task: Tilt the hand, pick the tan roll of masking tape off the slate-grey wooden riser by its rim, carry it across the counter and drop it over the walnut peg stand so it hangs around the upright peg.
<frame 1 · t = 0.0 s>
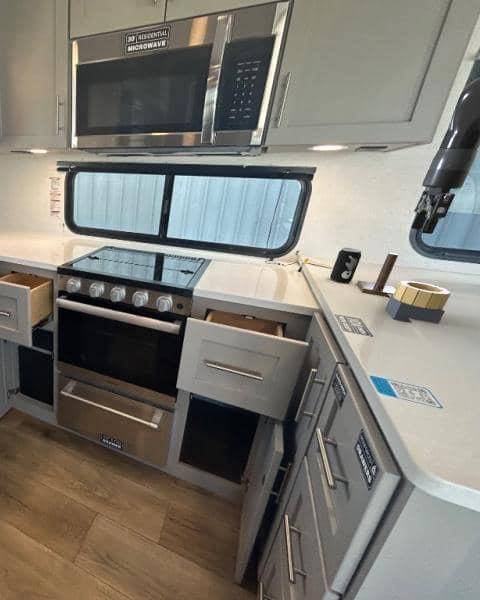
hand: (420, 231, 91), 23 cm above the countertop, tool pointing down, fingers open, 8 cm apart
black printed box: (339, 281, 123), on the countertop
riser: (409, 317, 94), on the countertop
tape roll: (417, 301, 92), point 5 cm above the countertop, touching riser
stand: (377, 291, 114), on the countertop
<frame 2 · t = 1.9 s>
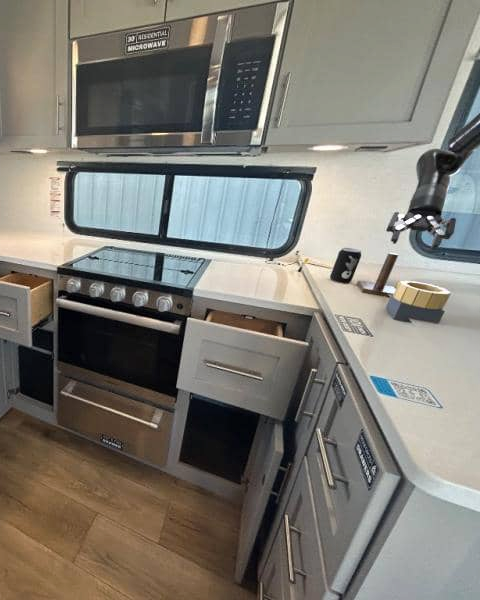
hand: (414, 244, 98), 19 cm above the countertop, tool tilted 45°, fingers open, 8 cm apart
nothing on the countertop moved.
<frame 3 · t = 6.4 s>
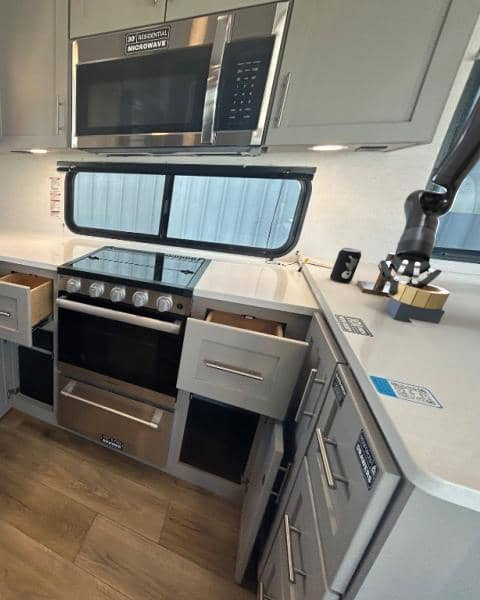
hand: (400, 295, 93), 6 cm above the countertop, tool tilted 45°, fingers closed on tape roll, 2 cm apart
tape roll: (416, 301, 92), point 5 cm above the countertop, touching gripper, riser
everything else where it was.
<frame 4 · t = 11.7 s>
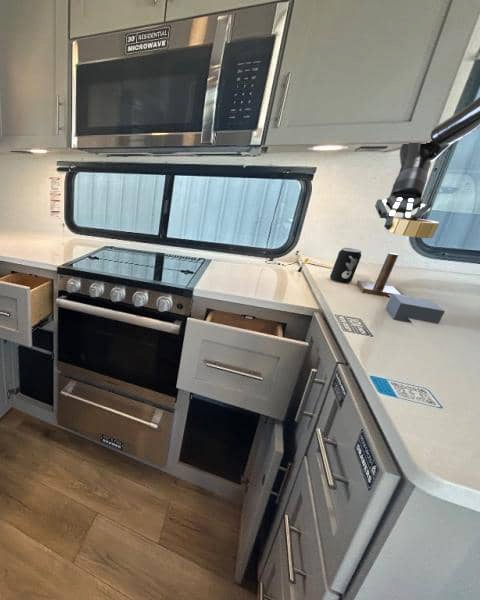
hand: (394, 228, 102), 22 cm above the countertop, tool tilted 45°, fingers closed on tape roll, 2 cm apart
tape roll: (409, 234, 101), point 21 cm above the countertop, touching gripper, hand
everything else where it was.
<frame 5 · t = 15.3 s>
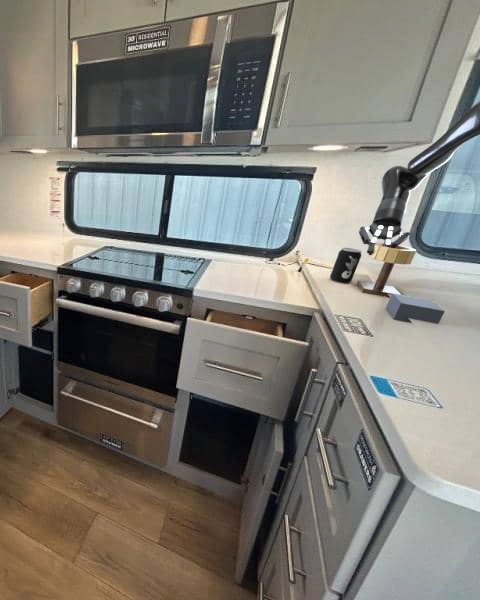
hand: (376, 254, 110), 13 cm above the countertop, tool tilted 45°, fingers closed on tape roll, 2 cm apart
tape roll: (389, 259, 109), point 11 cm above the countertop, touching gripper, hand
everything else where it was.
when the fingers open (13 cm above the countertop, at t = 17.0 s): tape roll drops 10 cm, resting on stand.
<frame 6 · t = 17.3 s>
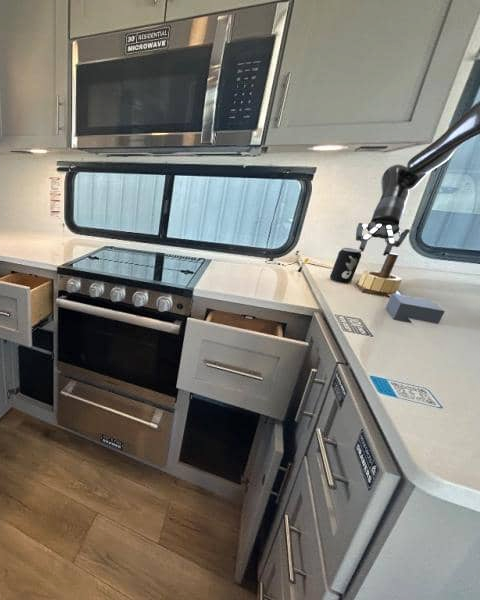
hand: (373, 252, 110), 13 cm above the countertop, tool tilted 45°, fingers open, 5 cm apart
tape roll: (376, 287, 114), point 1 cm above the countertop, touching stand
everything else where it was.
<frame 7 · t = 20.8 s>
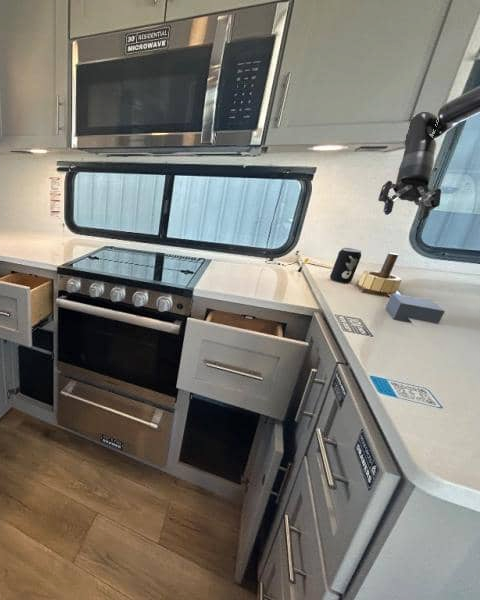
hand: (404, 216, 100), 26 cm above the countertop, tool tilted 35°, fingers open, 8 cm apart
nothing on the countertop moved.
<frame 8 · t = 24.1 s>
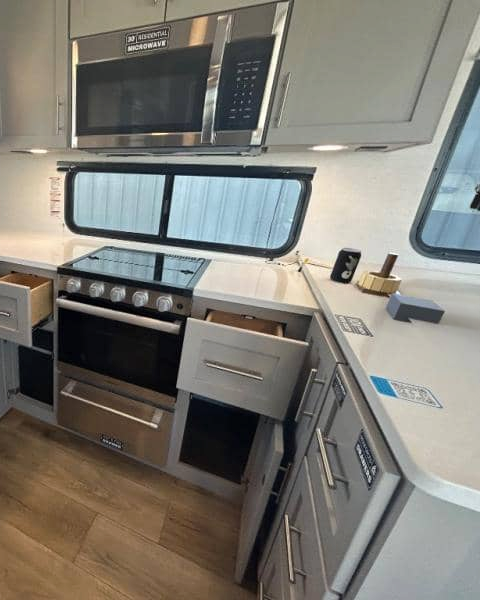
hand: (478, 210, 85), 30 cm above the countertop, tool pointing down, fingers open, 8 cm apart
nothing on the countertop moved.
at the end: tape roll 0.7 cm from the stand (horizontally); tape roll point 1.5 cm above the countertop; the gripper is holding nothing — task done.
